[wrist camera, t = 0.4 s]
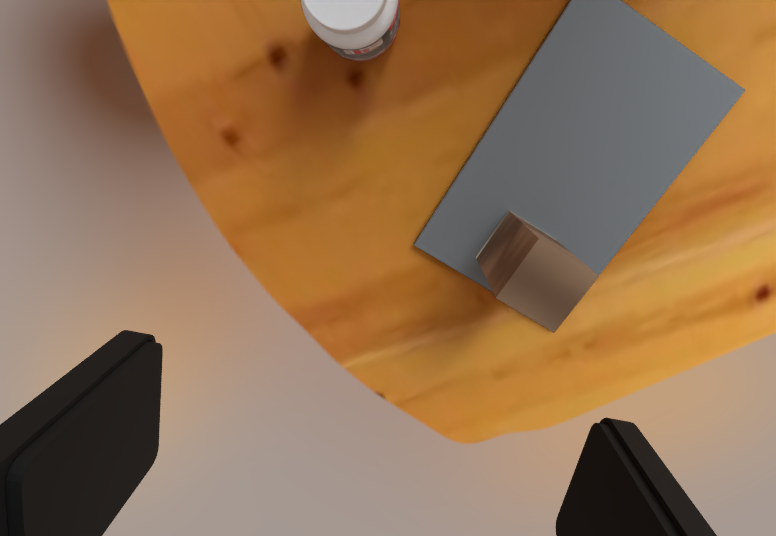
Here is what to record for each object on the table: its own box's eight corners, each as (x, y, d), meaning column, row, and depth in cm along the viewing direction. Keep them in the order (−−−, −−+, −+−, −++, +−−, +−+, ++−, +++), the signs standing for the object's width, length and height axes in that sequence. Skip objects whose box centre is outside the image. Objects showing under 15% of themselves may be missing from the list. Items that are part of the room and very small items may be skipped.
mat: (584, -22, 33) (587, -24, 32) (739, 90, 35) (745, 90, 34) (413, 243, 39) (414, 245, 39) (553, 326, 41) (555, 329, 40)
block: (508, 209, 37) (539, 238, 29) (555, 239, 38) (599, 276, 29) (475, 257, 39) (495, 298, 30) (521, 284, 39) (554, 332, 31)
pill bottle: (410, 45, 35) (412, 20, 25) (337, 73, 35) (312, 59, 26) (384, -41, 33) (375, -102, 24) (308, -9, 34) (270, -57, 24)
